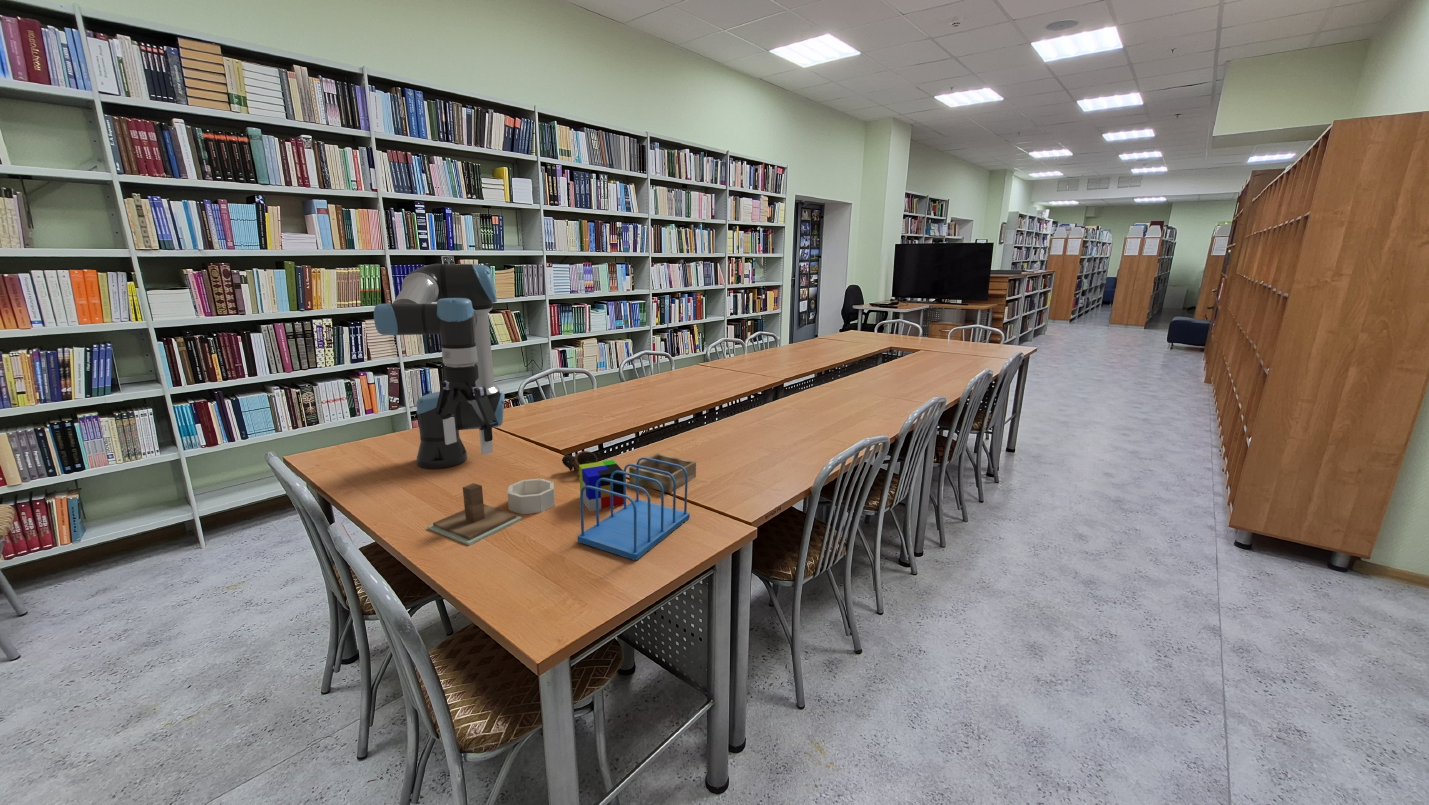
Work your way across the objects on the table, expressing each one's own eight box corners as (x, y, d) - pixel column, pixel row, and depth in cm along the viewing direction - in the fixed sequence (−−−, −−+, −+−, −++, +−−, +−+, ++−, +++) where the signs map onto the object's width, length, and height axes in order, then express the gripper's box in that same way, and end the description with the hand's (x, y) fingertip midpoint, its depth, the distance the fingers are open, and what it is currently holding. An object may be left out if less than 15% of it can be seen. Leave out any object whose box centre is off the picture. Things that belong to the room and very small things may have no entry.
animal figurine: (599, 467, 180) (603, 451, 175) (593, 489, 173) (596, 473, 168) (563, 459, 179) (566, 442, 173) (555, 481, 171) (558, 464, 166)
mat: (427, 528, 136) (427, 526, 136) (481, 505, 150) (481, 503, 149) (469, 545, 128) (469, 543, 128) (522, 519, 142) (522, 517, 142)
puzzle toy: (589, 511, 148) (588, 477, 145) (580, 497, 156) (579, 464, 154) (624, 504, 152) (623, 471, 150) (613, 491, 161) (613, 459, 158)
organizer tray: (629, 482, 167) (629, 467, 166) (657, 467, 180) (657, 453, 179) (669, 493, 160) (669, 477, 159) (695, 476, 173) (696, 462, 172)
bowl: (500, 506, 149) (498, 490, 148) (533, 491, 159) (532, 476, 158) (530, 517, 143) (529, 500, 142) (563, 501, 153) (562, 484, 152)
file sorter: (636, 562, 123) (635, 500, 119) (576, 543, 131) (574, 484, 127) (690, 518, 145) (690, 465, 141) (636, 505, 152) (636, 453, 149)
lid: (433, 526, 136) (429, 490, 134) (480, 505, 148) (477, 472, 146) (469, 540, 130) (466, 502, 127) (516, 517, 142) (513, 483, 139)
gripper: (413, 360, 131) (423, 443, 137) (482, 373, 120) (490, 462, 125) (441, 356, 138) (450, 435, 143) (509, 367, 126) (515, 453, 132)
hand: (468, 448), depth 134 cm, fingers open, 13 cm apart
